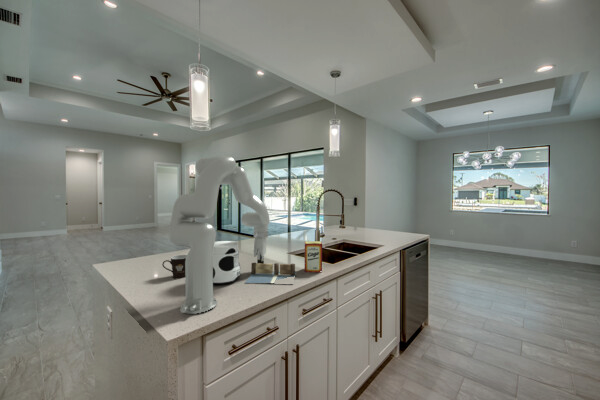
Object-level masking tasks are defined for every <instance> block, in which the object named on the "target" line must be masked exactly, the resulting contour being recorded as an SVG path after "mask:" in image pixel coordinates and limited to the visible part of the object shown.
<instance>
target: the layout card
mask: <svg viewBox="0 0 600 400" xmlns="http://www.w3.org/2000/svg"><path fill="white" fill-rule="evenodd" d="M295 275H296V276H297V271H295ZM295 275H294V276H295ZM294 276H291V275H290V274H280V271H279V275H274V270H273V274H257V273H256V274H252V273H251V274H250V275H249V277H248V278H247V279H246V280H245V282H244V284H247V283H270V282H271V283H274V282H275V280H277V279H278V280H279V279H284V278H287V277H294ZM296 276H295V277H296Z"/></svg>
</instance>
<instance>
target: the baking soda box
mask: <svg viewBox="0 0 600 400" xmlns="http://www.w3.org/2000/svg"><path fill="white" fill-rule="evenodd" d="M305 271H306V272H305ZM320 271H322V272H323V242H322V241H309V240H308V241H307V240H306V241H304V272H305V273H321V272H320Z"/></svg>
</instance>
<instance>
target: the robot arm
mask: <svg viewBox="0 0 600 400" xmlns="http://www.w3.org/2000/svg"><path fill="white" fill-rule="evenodd" d="M236 162H237V161H236V160H235V159H234V157H232V156H228V155H221V156H209V157H208V156H207V157H201V158H199V159H198V160H197V161H196V164H195V170H196V172H197V174H198V177H197V179H196V182H195V188H194V191H193V193H184V194H180V196H178V197H177V199H176V200H175V202H174V204H173V207H172V213H171V217H170V223H169V227H168V228H169V229H168V238H169V241H170V242H171V243H172V244H173V245H175V246H179V247H188V248H189V251H188V253H187V254H186V255H187V257H186V261H185V277H184V278H185V291H184V292H185V301H183V302H182V304H181V305H180V310H179V311H180V313H182V314H189V315H197V313H199V314H202V313H201V312H204V313H206V312H205V311H207V312H209V311H208V310H210V309H212V308H213V309H214V307H215V306H216V305H218V300H217V298H215V297H214V284H213V249H214V243H215V242H216V238H217V237H216V236H217V233H216V229H215V227H214V226H213V225H212V224H210V223H208V222H206V221H205V222H204V221H193V219H205V220H206V219H210V218H212V217H213V216H214V215H215V212H216V209H217V203H218V196H219V190H220V186H221V185H222V186H225V185H228V186H230V188H231V191H232V193H233V196H234V199H235V200H236V202H238V203H239V204H242V205H244V206H246V207H248V208H250V209H252V210H253V211H252V212H251V211H249V212H245V213H243V214H242V215H241V220H240V221H241V224H242V225H243V226H244V227H246V228H247V227H248V228H253V238H254V244H253V257H254V258H255V257H256V260H257V262H256V263H259V264H265V261H264V259H265V255H266V253H267V238H269V235H268V234H269V232H268V231H269V230H268V229H269V225H270V214H269V211H268V209H267V206H266V205H265V203H264V202H263V201H262V200H261V199H260V198H259V197H258V196H256V195H255V194H254V192H253V191H252V187H251V184H250V182H249V179H248V177H247V173H246V171H245V169H244V168H243V167H241V166H239V165H238V166H237V163H236ZM254 211H255V212H254ZM216 307H217V306H216ZM216 307H215V308H216ZM213 309H212V310H213ZM210 311H211V310H210Z"/></svg>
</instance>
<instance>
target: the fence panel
mask: <svg viewBox="0 0 600 400" xmlns="http://www.w3.org/2000/svg"><path fill="white" fill-rule="evenodd" d="M250 270H251V274H256V273H257V274H273V271H274V263H264V264H259V263H257V262H251V269H250Z"/></svg>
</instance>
